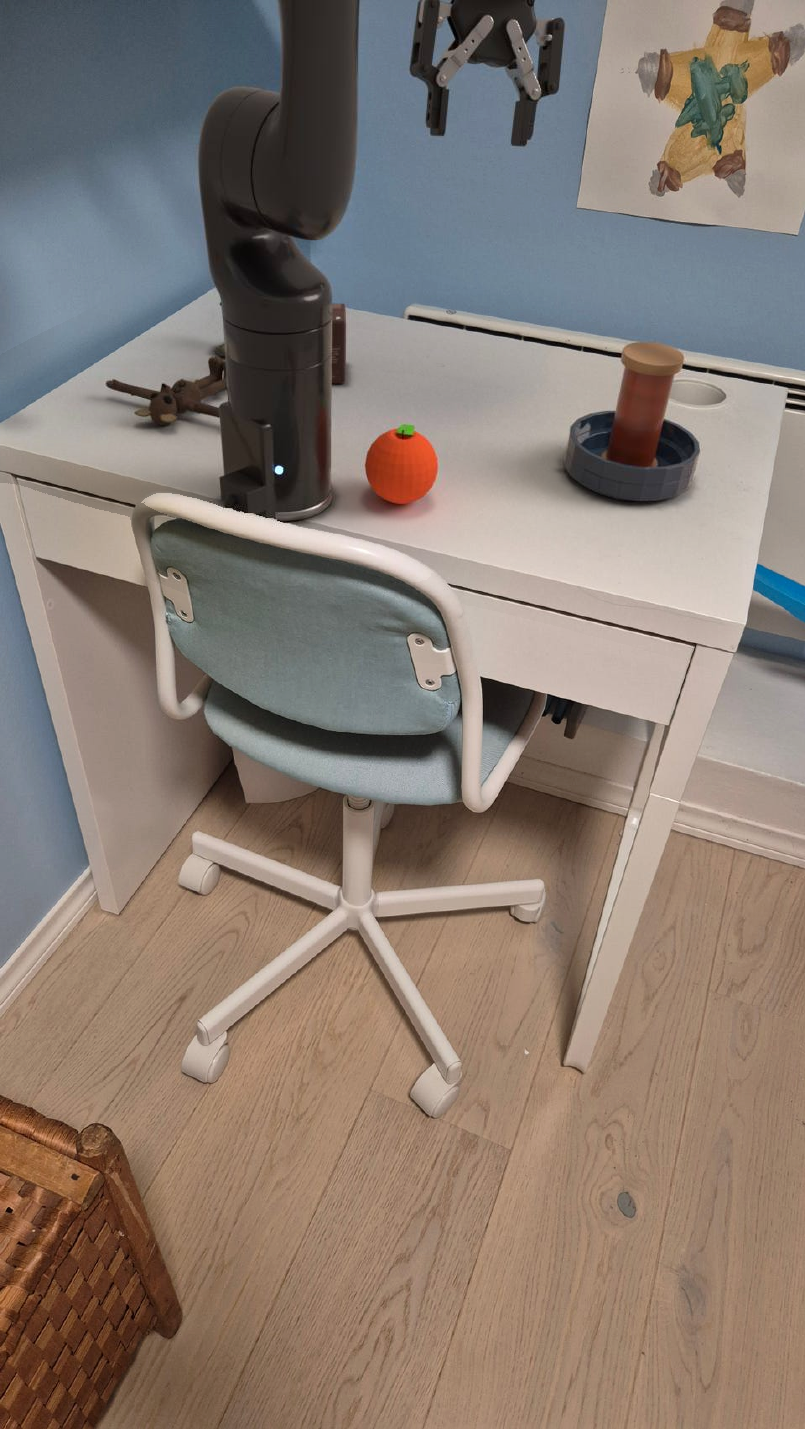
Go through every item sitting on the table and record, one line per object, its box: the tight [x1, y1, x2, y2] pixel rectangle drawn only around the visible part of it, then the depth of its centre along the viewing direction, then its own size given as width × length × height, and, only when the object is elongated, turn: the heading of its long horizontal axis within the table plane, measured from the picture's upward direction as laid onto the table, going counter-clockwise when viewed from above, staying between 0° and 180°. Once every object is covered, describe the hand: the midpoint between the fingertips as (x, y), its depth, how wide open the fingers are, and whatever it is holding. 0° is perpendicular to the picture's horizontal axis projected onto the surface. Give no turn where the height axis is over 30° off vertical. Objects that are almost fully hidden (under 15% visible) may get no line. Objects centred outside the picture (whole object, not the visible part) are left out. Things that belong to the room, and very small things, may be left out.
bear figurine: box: [105, 355, 227, 427], centre depth 107 cm, size 18×4×14 cm
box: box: [332, 302, 347, 384], centre depth 114 cm, size 6×6×7 cm
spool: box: [601, 341, 685, 467], centre depth 97 cm, size 6×6×12 cm
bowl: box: [564, 410, 701, 502], centre depth 100 cm, size 13×13×4 cm
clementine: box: [364, 423, 439, 505], centre depth 93 cm, size 8×7×7 cm
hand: (478, 141), depth 93 cm, fingers open, 8 cm apart
